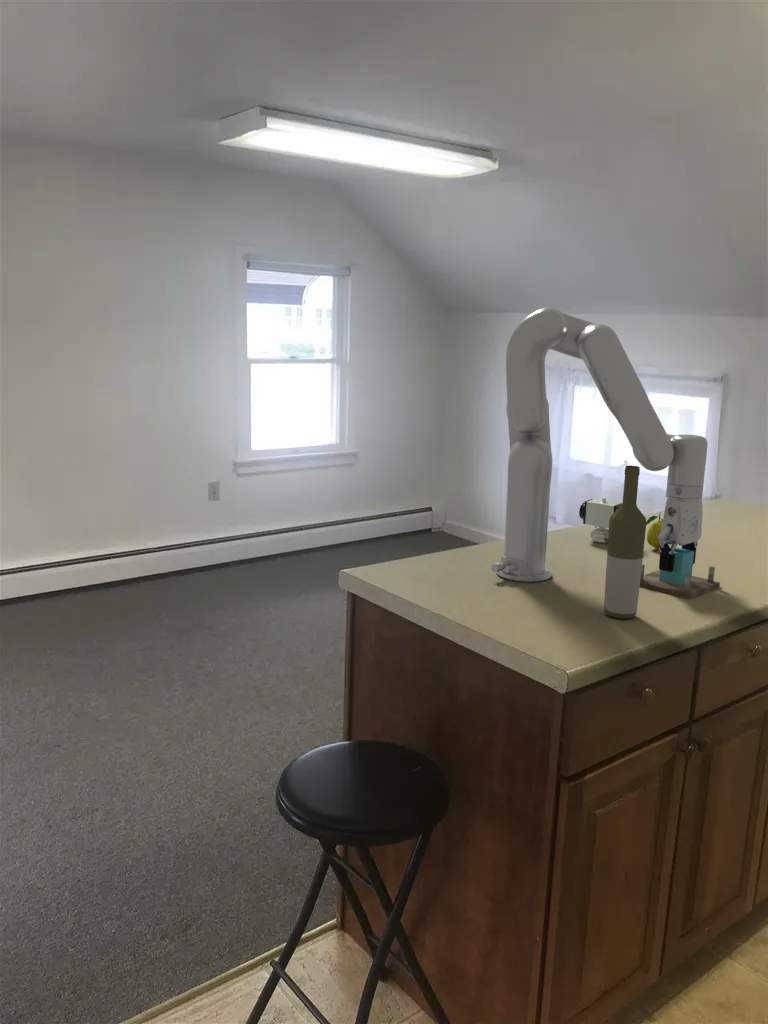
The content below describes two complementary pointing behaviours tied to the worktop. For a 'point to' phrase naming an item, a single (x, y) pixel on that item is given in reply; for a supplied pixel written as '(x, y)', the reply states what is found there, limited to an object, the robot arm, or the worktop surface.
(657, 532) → the lemon
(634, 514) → the bottle
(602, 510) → the pneumatic valve
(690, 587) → the pegboard
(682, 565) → the hollow square block
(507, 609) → the worktop surface
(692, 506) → the robot arm
